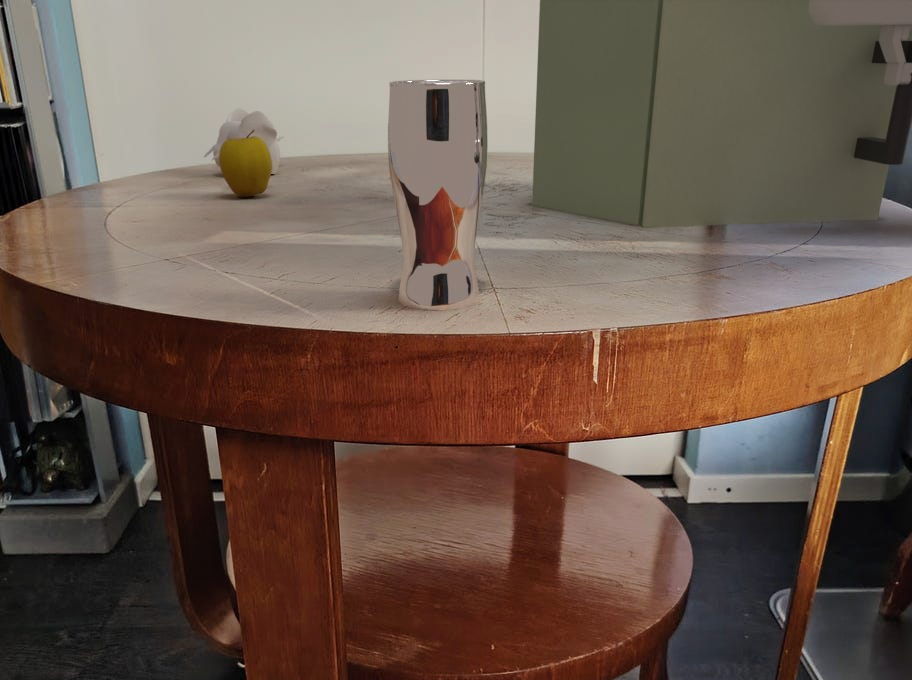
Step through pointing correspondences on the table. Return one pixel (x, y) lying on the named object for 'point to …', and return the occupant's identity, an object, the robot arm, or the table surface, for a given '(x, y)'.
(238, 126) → the elephant figurine
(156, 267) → the table surface
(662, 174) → the door
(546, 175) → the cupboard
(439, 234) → the beer glass
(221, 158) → the apple
